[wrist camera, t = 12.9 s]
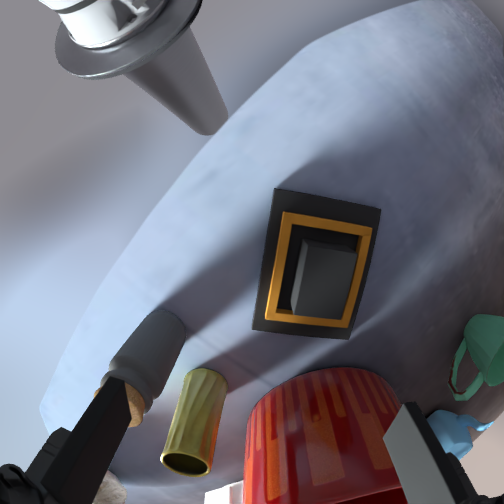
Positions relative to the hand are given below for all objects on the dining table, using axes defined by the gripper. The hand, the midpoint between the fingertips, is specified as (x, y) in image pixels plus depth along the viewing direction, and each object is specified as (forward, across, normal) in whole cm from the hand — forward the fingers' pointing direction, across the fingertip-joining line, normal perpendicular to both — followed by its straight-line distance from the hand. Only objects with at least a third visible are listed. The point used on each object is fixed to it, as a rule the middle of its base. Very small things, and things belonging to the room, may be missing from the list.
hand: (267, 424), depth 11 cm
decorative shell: (+21, -32, -57) cm, 69 cm away
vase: (+21, -6, -17) cm, 28 cm away
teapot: (+21, +38, -27) cm, 51 cm away
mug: (+21, +34, -7) cm, 40 cm away
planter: (+21, +12, -22) cm, 33 cm away
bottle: (+21, -11, -9) cm, 26 cm away
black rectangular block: (+20, +6, +2) cm, 21 cm away
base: (+21, +6, +2) cm, 22 cm away
